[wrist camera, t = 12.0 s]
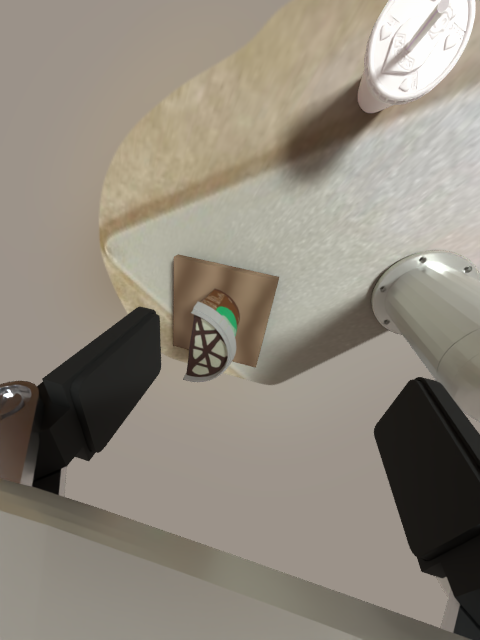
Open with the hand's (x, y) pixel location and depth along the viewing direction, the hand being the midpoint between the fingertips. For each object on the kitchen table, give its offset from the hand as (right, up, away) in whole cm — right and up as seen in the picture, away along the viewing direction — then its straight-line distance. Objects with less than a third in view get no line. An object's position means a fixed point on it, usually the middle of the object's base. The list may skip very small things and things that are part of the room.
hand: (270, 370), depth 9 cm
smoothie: (+13, +26, +15) cm, 33 cm away
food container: (-3, +2, +29) cm, 30 cm away
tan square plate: (-4, +4, +32) cm, 33 cm away
